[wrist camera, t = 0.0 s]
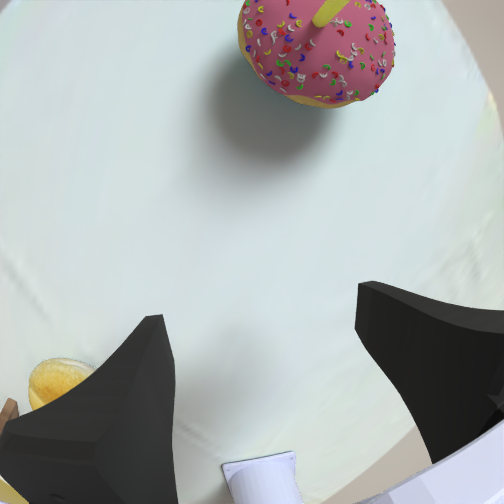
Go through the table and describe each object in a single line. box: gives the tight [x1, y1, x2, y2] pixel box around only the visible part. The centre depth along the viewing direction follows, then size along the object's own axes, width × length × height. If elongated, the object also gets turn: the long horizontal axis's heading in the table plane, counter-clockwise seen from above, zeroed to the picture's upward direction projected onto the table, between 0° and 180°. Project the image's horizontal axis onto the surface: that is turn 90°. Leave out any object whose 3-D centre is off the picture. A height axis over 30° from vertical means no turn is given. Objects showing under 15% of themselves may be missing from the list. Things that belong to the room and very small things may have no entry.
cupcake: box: [237, 0, 396, 109], centre depth 12 cm, size 9×8×12 cm
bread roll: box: [29, 358, 96, 411], centre depth 21 cm, size 8×9×4 cm
